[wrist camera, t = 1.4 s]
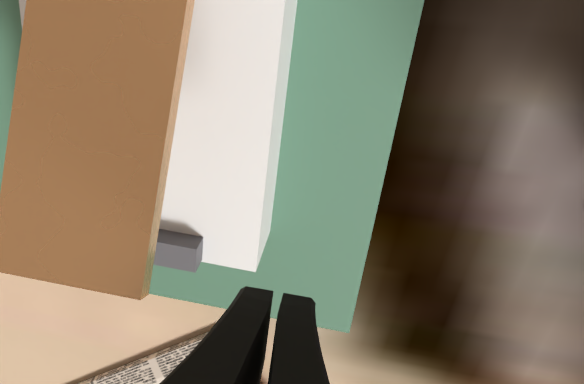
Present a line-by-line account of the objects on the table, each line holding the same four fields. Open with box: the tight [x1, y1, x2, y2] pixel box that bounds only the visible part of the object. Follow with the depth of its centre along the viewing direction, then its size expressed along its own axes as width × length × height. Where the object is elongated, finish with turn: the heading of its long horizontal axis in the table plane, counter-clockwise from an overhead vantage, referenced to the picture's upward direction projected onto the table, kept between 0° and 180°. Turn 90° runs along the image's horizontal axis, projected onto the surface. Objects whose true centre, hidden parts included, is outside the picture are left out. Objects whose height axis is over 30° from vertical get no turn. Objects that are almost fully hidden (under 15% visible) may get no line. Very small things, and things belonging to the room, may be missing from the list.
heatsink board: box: [0, 0, 424, 333], centre depth 17 cm, size 16×26×5 cm, turn 173°
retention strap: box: [0, 0, 195, 300], centre depth 14 cm, size 4×12×1 cm, turn 173°
